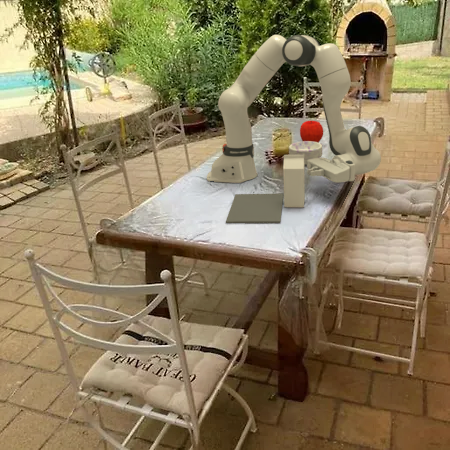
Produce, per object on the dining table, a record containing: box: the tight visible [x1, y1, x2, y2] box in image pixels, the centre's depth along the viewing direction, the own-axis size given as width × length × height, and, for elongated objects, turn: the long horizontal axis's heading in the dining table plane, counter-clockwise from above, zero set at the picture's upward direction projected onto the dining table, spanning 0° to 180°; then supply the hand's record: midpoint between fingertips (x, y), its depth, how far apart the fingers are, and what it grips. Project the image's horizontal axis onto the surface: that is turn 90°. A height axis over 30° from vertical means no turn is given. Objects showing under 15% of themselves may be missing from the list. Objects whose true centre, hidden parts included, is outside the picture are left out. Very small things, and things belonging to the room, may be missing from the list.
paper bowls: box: [288, 141, 323, 166], centre depth 222 cm, size 15×15×8 cm
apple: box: [299, 120, 324, 143], centre depth 243 cm, size 12×12×13 cm
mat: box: [225, 192, 284, 224], centre depth 178 cm, size 19×26×1 cm
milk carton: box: [282, 154, 306, 208], centre depth 175 cm, size 7×7×19 cm
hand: (309, 173), depth 176 cm, fingers closed
